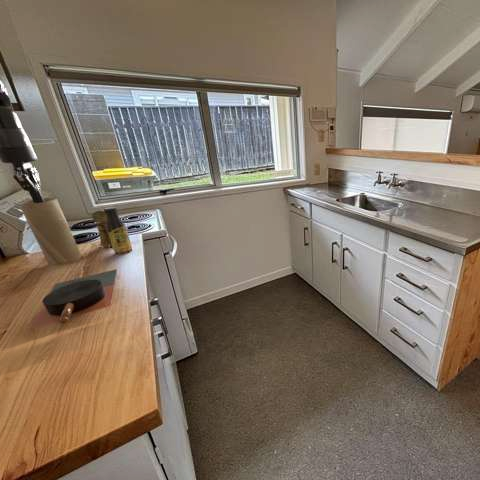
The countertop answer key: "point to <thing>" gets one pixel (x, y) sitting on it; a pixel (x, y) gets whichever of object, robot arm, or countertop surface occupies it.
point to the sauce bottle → (117, 232)
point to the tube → (51, 231)
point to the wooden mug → (102, 228)
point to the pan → (73, 298)
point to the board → (108, 285)
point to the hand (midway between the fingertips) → (39, 202)
